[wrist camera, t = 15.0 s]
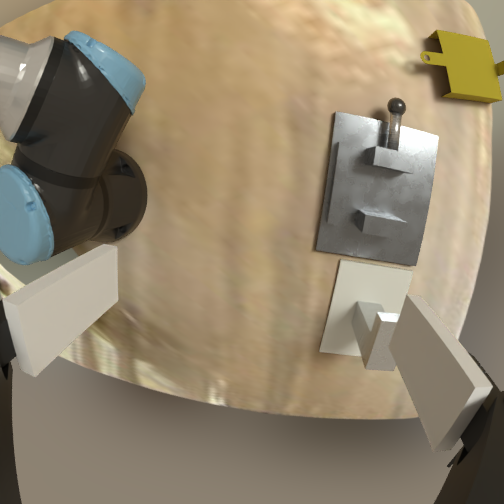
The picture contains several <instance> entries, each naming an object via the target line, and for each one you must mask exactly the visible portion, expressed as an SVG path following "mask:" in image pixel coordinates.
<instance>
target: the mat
mask: <svg viewBox="0 0 504 504" xmlns="http://www.w3.org/2000/svg"><path fill="white" fill-rule="evenodd" d="M412 275H413V271H412V270H407V269H401V268H395V267H388V266H382V265H376V264H369V263H363V262H357V261H350V260H344V259H340V264H339V269H338V274H337V278H336V283H335V287H334V292H333V296H332V301H331V305H330V309H329V313H328V317H327V322H326V326H325V330H324V334H323V337H322V341H321V345H320V349H319V352H325V353H333V354H342V355H352V356H361V353H360V350H359V347H358V343H357V340H356V337H355V334H354V330H353V327H352V324H351V322H352V319H353V315H354V311H355V308H356V304H357V301H363V302H371V303H379V304H381V305H382V307H383V308H384V310H385V312H387V313H395V314H400V313H401V310H402V307H403V304H404V300H405V297H406V294H407V293H408V290H409V286H410V282H411V279H412Z"/></svg>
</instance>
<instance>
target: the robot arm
mask: <svg viewBox="0 0 504 504" xmlns="http://www.w3.org/2000/svg"><path fill="white" fill-rule="evenodd" d="M145 85H146V80H145V77H144V75H143V73H142V72H141V71H140V69H138V68H137V67H136V66H135V65H134V64H133V63H131V62H130V61H129V60H127V59H126V58H125V57H123V56H122V55H120V54H119V53H117V52H116V51H114V50H113V49H111V48H110V47H108V46H106V45H105V44H103V43H101V42H97V41H96V40H95V39H93V38H91V37H90V36H88V35H86V34H84V33H81V32H79V31H71V32H70V33H69V34H68V35H66V36H65V37H64V40H61V39H58V38H56V37H53V36H48V37H46V38H44V39H42V40H40V41H38V42H36V43H32V44H28V43H25V42H22V41H19V40H15V39H12V38H9V37H5V36H2V35H0V129H1V131H2V133H3V135H4V137H5V139H6V140H7V141H10V142H14V143H18V144H17V147H16V150H15V154H14V157H13V160H12V163H11V165H8V164H7V165H3V166H2V167H1V168H0V250H1V251H2V253H3V254H4V255H5V256H6V257H7V258H8V259H10V260H11V261H13V262H15V263H17V264H20V265H30V264H33V263H35V262H38V261H46V260H48V259H49V258H50V257H52V256H54V255H57V254H59V253H61V252H63V251H65V250H67V249H69V248H72V247H74V246H76V245H78V244H80V243H83V242H85V241H87V240H91V241H98V242H112V241H116V240H118V239H120V238H123V237H125V236H127V235H128V234H130V233H131V232H132V231H133V230H134V229H135V228H136V227H137V226H138V225H139V223H140V222H141V220H142V218H143V215H144V213H145V209H146V205H147V186H146V181H145V178H144V175H143V173H142V171H141V169H140V167H139V166H138V164H137V163H136V162H135V161H134V160H133V159H132V158H131V157H130V156H129V155H127V154H125V153H123V152H121V151H118V150H114V148H115V146H116V144H117V142H118V140H119V138H120V136H121V134H122V132H123V130H124V128H125V126H126V124H127V122H128V120H129V118H130V117H131V115H133V114H134V112H135V109H134V108H135V106H136V104H137V102H138V100H139V99H140V97H141V95H142V93H143V91H144V89H145ZM117 301H118V273H117V246H112V245H107V244H103V245H101V246H99V247H97V248H95V249H93V250H91V251H89V252H87V253H85V254H83V255H81V256H79V257H77V258H76V259H74V260H72V261H70V262H68V263H66V264H64V265H62V266H60V267H59V268H57V269H55V270H53V271H51V272H49V273H48V274H46V275H44V276H42V277H40V278H39V279H37V280H35V281H33V282H31V283H30V284H28V285H26V286H24V287H23V288H21V289H19V290H18V291H16V292H14V293H12V294H11V295H9V296H7V297H6V298H4V299H2V300H1V301H0V504H22V503H21V498H20V492H19V486H18V480H17V474H16V466H15V456H14V445H13V429H12V372H13V369H12V365H11V362H10V361H11V360H12V359H13V358H14V357H16V358H17V361H18V364H19V367H20V370H22V371H23V372H26V373H27V374H29V375H31V376H33V377H36V376H37V375H38V374H39V373H40V372H41V371H42V370H43V369H44V368H45V367H46V366H47V365H48V364H49V363H51V362H52V361H53V360H54V359H55V358H56V357H57V356H58V355H59V354H60V353H61V352H62V351H63V350H64V349H65V348H66V347H68V346H69V345H70V344H71V343H72V342H73V341H74V340H75V339H76V338H77V337H78V336H79V335H80V334H82V333H83V332H84V331H85V330H86V329H87V328H88V327H89V326H90V325H91V324H93V323H94V322H95V321H96V320H97V319H98V318H99V317H100V316H101V315H103V314H104V313H105V312H106V311H107V310H108V309H109V308H110V307H112V306H113V305H114V304H115V303H116V302H117ZM388 347H389V350H390V352H391V354H392V356H393V358H394V360H395V362H396V365H397V367H398V369H399V371H400V373H401V376H402V378H403V380H404V382H405V385H406V387H407V389H408V392H409V394H410V396H411V399H412V401H413V403H414V406H415V408H416V410H417V413H418V415H419V418H420V420H421V422H422V425H423V427H424V430H425V433H426V435H427V437H428V440H429V443H430V446H431V448H432V451H433V452H438V451H446V450H451V449H452V448H453V446H454V445H455V444H456V442H457V441H458V439H459V438H461V440H462V442H463V444H464V445H463V447H462V448H461V449H460V451H459V452H458V453H457V454H456V456H455V457H454V458H453V459H452V460H451V462H450V463H449V464H448V465H447V467H450V466H451V465H452V464H453V466H452V468H451V470H450V472H449V474H448V477H447V479H446V481H445V483H444V485H443V487H442V490H441V491H440V493H439V495H438V497H437V499H436V501H435V502H434V504H504V391H502V392H500V391H499V389H498V387H497V386H496V385H495V383H494V382H493V381H492V379H491V378H490V377H489V375H488V374H487V373H485V370H484V369H483V367H482V366H480V363H479V362H478V361H477V360H476V359H475V357H474V356H472V355H471V354H470V353H469V352H467V351H466V350H465V349H464V347H463V346H462V345H461V344H460V342H459V341H458V340H457V339H456V337H455V336H454V335H453V334H452V332H451V331H450V330H449V329H448V328H447V326H446V325H445V324H444V323H443V322H442V320H441V319H440V318H439V317H438V316H437V314H436V313H435V312H434V311H433V310H432V309H431V307H430V306H429V305H428V304H427V303H426V302H425V301H424V299H423V298H422V297H421V296H416V295H409V294H406V297H405V300H404V304H403V307H402V310H401V313H400V316H399V319H398V321H397V324H396V327H395V330H394V333H393V335H392V338H391V341H390V343H389V346H388Z"/></svg>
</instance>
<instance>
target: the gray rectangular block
mask: <svg viewBox="0 0 504 504" xmlns="http://www.w3.org/2000/svg"><path fill="white" fill-rule="evenodd" d="M399 316H400V314H395V313H387V312H385V310H384V308H383V307H382V305H381V304H379V303H371V302H363V301H357V304H356V308H355V311H354V315H353V319H352V322H351V324H352V327H353V330H354V334H355V337H356V340H357V343H358V347H359V350H360V353H361V356H362V360H363V363H364V367H365V369H369V370H383V371H394V369H395V366H396V362H395V360H394V358H393V356H392V354H391V352H390V350H389V347H388V346H389V343H390V341H391V338H392V335H393V333H394V330H395V327H396V324H397V321H398V319H399Z"/></svg>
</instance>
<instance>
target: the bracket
mask: <svg viewBox="0 0 504 504" xmlns="http://www.w3.org/2000/svg"><path fill="white" fill-rule="evenodd" d="M428 38H434V39H439V40H440V44H441V48H442V51H443V54H442V53H435V52H427V51H424V52H422V53H421V55H420V56H421V59H422V61H423V62H424V63H426V64H432V65H440V66H446V68H447V73H448V78H449V83H450V88H451V93H449V94H446V95H444V96H442V97H447V98H456V99H465V100H473V101H480V102H487V103H493V102H497V101H501V100H502V96H501V91H500V86H499V82H498V77H497V75H498V76H500V75H503V74H504V61H502V62H500V63H498V64H494V60H493V56H492V52H491V49H490V45H489V42H488V40H484V39H480V38H476V37H471V36H467V35H462V34H457V33H452V32H447V31H441V30H436V31H435V32H434V33H433V34H431V35H430V36H429V37H428ZM424 55H428V56H429V57H430V60H429V61H427V60H425V59H424Z"/></svg>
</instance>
